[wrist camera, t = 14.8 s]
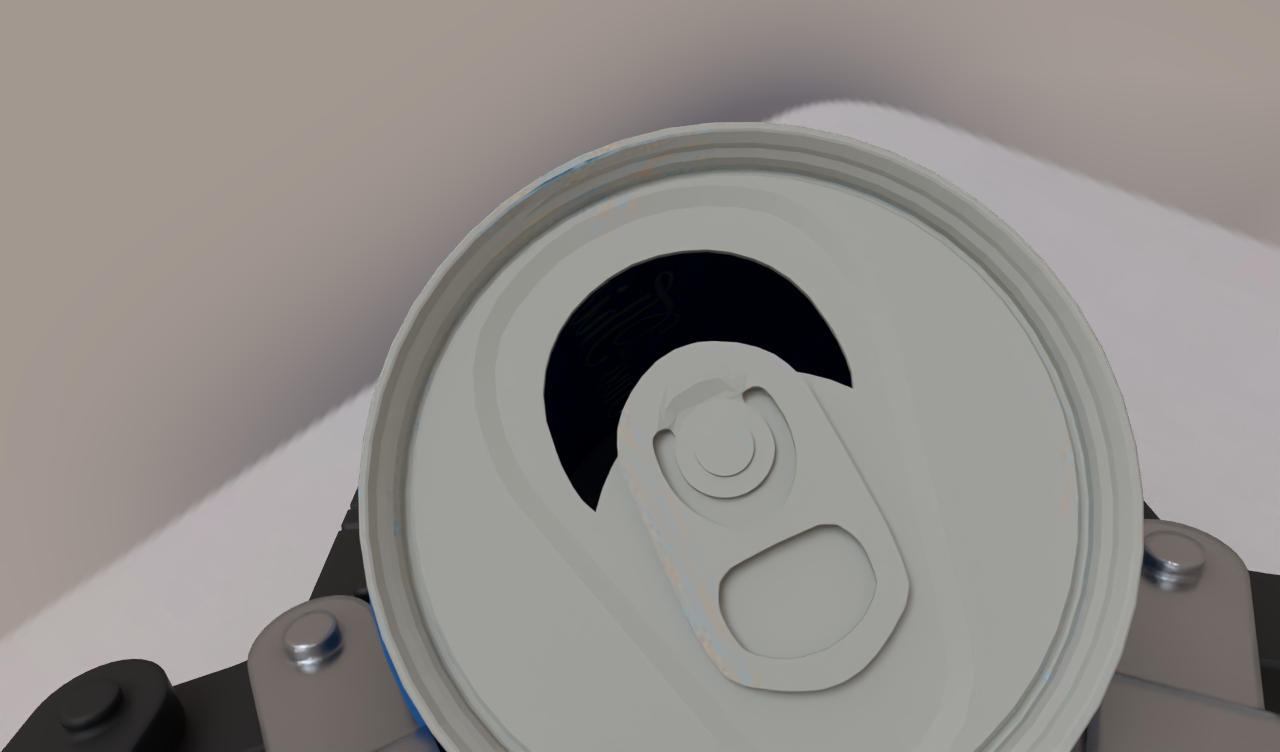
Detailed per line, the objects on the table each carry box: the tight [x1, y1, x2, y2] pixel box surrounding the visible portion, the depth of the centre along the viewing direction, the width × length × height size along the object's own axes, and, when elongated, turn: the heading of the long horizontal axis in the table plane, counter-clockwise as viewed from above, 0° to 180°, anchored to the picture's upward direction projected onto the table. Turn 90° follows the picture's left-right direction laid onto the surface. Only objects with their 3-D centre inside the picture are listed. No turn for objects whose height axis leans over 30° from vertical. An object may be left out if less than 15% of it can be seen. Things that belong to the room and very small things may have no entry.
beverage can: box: [358, 122, 1144, 752], centre depth 12 cm, size 6×6×12 cm
